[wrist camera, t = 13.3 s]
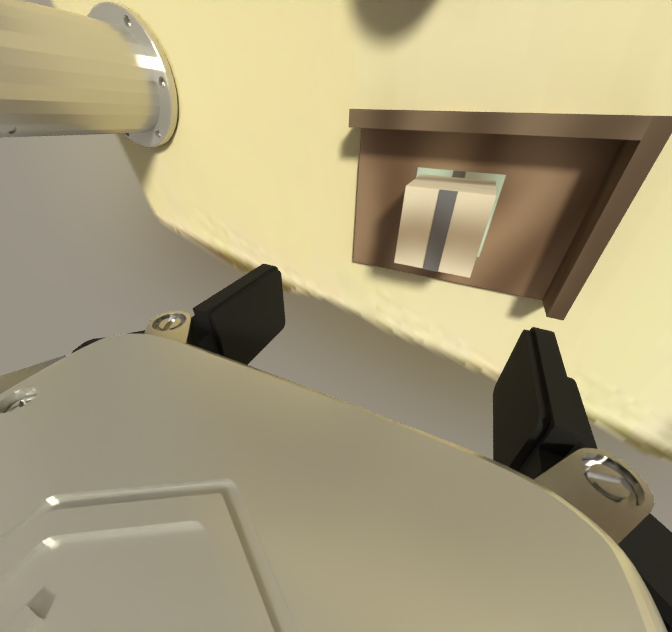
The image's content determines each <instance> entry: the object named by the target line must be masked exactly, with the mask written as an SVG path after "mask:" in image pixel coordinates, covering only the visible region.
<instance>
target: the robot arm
mask: <svg viewBox="0 0 672 632" xmlns="http://www.w3.org/2000/svg"><path fill="white" fill-rule="evenodd" d="M177 112H178V103H177V93H176V88H175V83H174V78H173V75H172V72H171V69H170V65H169V63H168V60H167V58H166V56H165V53H164V51H163V49H162V47H161V45H160V44H159V42H158V40H157V38H156V36H155V35H154V34H153V32H152V31H151V29H150V28H149V27H148V25H147V24H146V23H145V22H144V21H143V20H142V19H141V18H140V17H139V16H138V15H137V14H136V13H134V12H133V11H132V10H130V9H129V8H127V7H124V6H122V5H119V4H115V3H111V2H102V3H99V4H97V5H96V6H94V7H93V8H92V10H91V11H90V13H89V14H88V17H87V16H83V15H79V14H75V13H71V12H67V11H63V10H59V9H55V8H51V7H47V6H43V5H39V4H35V3H31V2H27V1H24V0H0V138H3V137H29V136H30V137H31V136H59V135H86V134H87V135H88V134H116V133H123V134H124V135H125V136H126V137H127V138H128V139H130V140H131V141H132V142H134V143H136V144H138V145H140V146H144V147H157V146H162V145H163V144H165V143H166V142H168V140H169V139H170V138H171V136H172V135H173V132H174V130H175V127H176V122H177ZM193 311H194V314H195V316H193V317H192V318H191V316H190V315H189V314H188V313H187V312H184V311H170V312H166V313H163V314H160V315H158V316H156V317H154V318H153V319H152V320H151V321H150V322H149V323H148V325H147V327H146V330H144V331H139V332H133V333H127V334H120V335H113V336H108V337H105V338H99V339H92V340H89V341H86V342H84V343H83V344H82V345H81V346H79V347H78V348H76V349H75V350H74V351H73V352H72V353H71V354H70V355H68V356H65V355H64V356H61V357H58V358H55V359H52V360H49V361H46V362H43V363H40V364H36V365H33V366H30V367H27V368H24V369H21V370H18V371H15V372H12V373H8V374H5V375H2V376H0V632H672V532H670V531H669V530H668V529H667V528H666V527H665V526H664V525H663V524H662V523H660V522H659V521H658V520H657V519H656V518H654V516H652V515H651V514H650V512H651V511H652V509H653V507H654V498H653V494H652V492H651V490H650V488H649V487H648V485H647V483H646V482H645V481H644V480H643V479H642V477H641V476H640V475H639V474H638V473H637V472H636V471H635V470H634V469H632V468H631V467H630V466H629V465H628V464H626V463H625V462H623V461H622V460H620V459H619V458H617V457H616V456H614V455H611V454H609V453H607V452H605V451H602V450H598V449H597V446H596V443H595V440H594V437H593V434H592V431H591V427H590V424H589V421H588V418H587V415H586V412H585V409H584V406H583V403H582V399H581V396H580V393H579V390H578V387H577V384H576V382H575V380H574V379H572V378H569V377H567V374H566V371H565V368H564V364H563V361H562V357H561V354H560V351H559V347H558V344H557V340H556V337H555V334H554V332H552V331H548V330H544V329H539V328H535V327H532V328H531V329H530V331H529V330H523V332H522V333H521V335H520V337H519V339H518V341H517V343H516V345H515V347H514V349H513V351H512V353H511V355H510V357H509V359H508V361H507V363H506V365H505V367H504V369H503V371H502V373H501V375H500V377H499V379H498V381H497V383H496V385H495V388H494V392H493V450H494V451H493V454H494V455H493V457H494V458H493V460H492V459H489V458H487V457H485V456H482V455H480V454H477V453H475V452H473V451H471V450H468V449H466V448H463V447H461V446H458V445H456V444H453V443H451V442H448V441H446V440H443V439H440V438H438V437H435V436H433V435H430V434H428V433H425V432H423V431H420V430H418V429H415V428H412V427H410V426H407V425H405V424H402V423H399V422H397V421H394V420H391V419H389V418H386V417H383V416H381V415H378V414H376V413H373V412H371V411H368V410H365V409H363V408H360V407H357V406H355V405H352V404H350V403H347V402H344V401H342V400H339V399H336V398H333V397H331V396H328V395H326V394H323V393H320V392H318V391H315V390H312V389H310V388H307V387H305V386H301V385H299V384H296V383H294V382H291V381H289V380H286V379H283V378H281V377H278V376H275V375H272V374H270V373H267V372H264V371H262V370H259V369H256V368H254V367H251V366H248V364H249V362H250V361H251V360H253V358H255V356H256V355H258V353H260V351H261V350H262V349H263V348H264V347H265V346H266V345H267V344H268V343H269V342H270V341H271V340H272V339H273V338H274V337H275V336H276V335H277V334H278V333H279V332H280V331H281V330H282V329H283V328H284V326H285V312H284V301H283V289H282V278H281V272H280V271H278V268H277V267H276V266H271V265H267V264H262V265H260V266H259V267H257V268H256V269H254V270H253V271H251V272H249V273H248V274H246V275H245V276H243V277H241V279H238V280H237V281H235V282H234V283H232V284H231V285H229V286H227V287H226V288H224V289H223V290H221V291H219V292H218V293H216V294H215V295H213V296H211V297H210V298H208V299H207V300H205V301H204V302H202V303H200V304H199V305H197V306H196V307H194V308H193Z"/></svg>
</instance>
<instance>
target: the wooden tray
mask: <svg viewBox="0 0 672 632" xmlns="http://www.w3.org/2000/svg"><path fill="white" fill-rule="evenodd" d="M349 127H353V128H361V144H360V160H359V175H358V191H357V207H356V223H355V239H354V255H353V261H355V262H359V263H364V264H369V265H374V266H379V267H384V268H389V269H393V270H398V271H403V272H408V273H413V274H418V275H423V276H427V277H432V278H437V279H442V280H447V281H452V282H457V283H461V284H466V285H471V286H476V287H481V288H486V289H491V290H495V291H500V292H505V293H510V294H515V295H520V296H525V297H529V298H534V299H539V300H542V301H543V305H544V308H545V312H546V316H547V317H550V318H555V319H559V320H564V318H565V317H566V315H567V313H568V311H569V310H570V308H571V306H572V304H573V303H574V301H575V299H576V298H577V296H578V294H579V292H580V291H581V289H582V287H583V285H584V284H585V282H586V280H587V279H588V277H589V275H590V273H591V272H592V270H593V268H594V266H595V265H596V263H597V261H598V260H599V258H600V256H601V254H602V253H603V251H604V249H605V247H606V246H607V244H608V242H609V240H610V239H611V237H612V235H613V234H614V232H615V230H616V228H617V227H618V225H619V223H620V221H621V220H622V218H623V216H624V215H625V213H626V211H627V209H628V208H629V206H630V204H631V202H632V201H633V199H634V197H635V196H636V194H637V192H638V190H639V189H640V187H641V185H642V183H643V182H644V180H645V178H646V177H647V175H648V173H649V171H650V170H651V168H652V166H653V164H654V163H655V161H656V159H657V158H658V156H659V154H660V152H661V151H662V149H663V147H664V145H665V144H666V142H667V140H668V139H669V137H670V135H671V133H672V116H636V115H592V114H548V113H504V112H459V111H415V110H371V109H350V110H349ZM421 174H426V175H437V176H447V177H458V178H468V179H478V180H489V181H496V199H495V202H494V205H493V208H492V211H491V214H490V217H489V220H488V223H487V226H486V230H485V233H484V236H483V239H482V242H481V245H480V248H479V251H478V254H477V257H476V260H475V264H474V267H473V270H472V273H471V276H470V278H468V277H463V276H458V275H453V274H448V273H443V272H436V271H431V270H426V269H423V268H418V267H413V266H408V265H403V264H398V263H394V260H395V254H396V247H397V241H398V234H399V227H400V221H401V214H402V208H403V201H404V195H405V188H406V185H408V184H409V183H410V182H412V181H413V180H414V179H416V178H417V177H418V176H420V175H421Z"/></svg>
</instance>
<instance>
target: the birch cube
mask: <svg viewBox="0 0 672 632" xmlns="http://www.w3.org/2000/svg"><path fill="white" fill-rule="evenodd" d="M495 199H496V181H489V180H478V179H468V178H458V177H447V176H437V175H426V174H421V175H420V176H418V177H417V178H416V179H414V180H413V181H412V182H410V183H409V184H408V185H406V188H405V195H404V201H403V208H402V214H401V221H400V227H399V234H398V241H397V247H396V254H395V260H394V263H398V264H403V265H408V266H413V267H418V268H423V269H426V270H431V271H436V272H443V273H448V274H453V275H458V276H463V277H468V278H470V276H471V273H472V270H473V267H474V264H475V260H476V257H477V254H478V251H479V248H480V245H481V242H482V239H483V236H484V233H485V230H486V226H487V223H488V220H489V217H490V214H491V211H492V208H493V205H494V202H495Z"/></svg>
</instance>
